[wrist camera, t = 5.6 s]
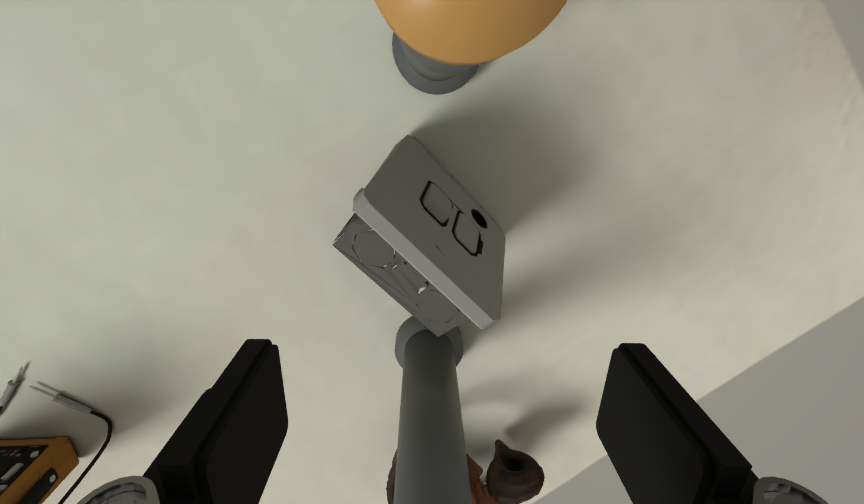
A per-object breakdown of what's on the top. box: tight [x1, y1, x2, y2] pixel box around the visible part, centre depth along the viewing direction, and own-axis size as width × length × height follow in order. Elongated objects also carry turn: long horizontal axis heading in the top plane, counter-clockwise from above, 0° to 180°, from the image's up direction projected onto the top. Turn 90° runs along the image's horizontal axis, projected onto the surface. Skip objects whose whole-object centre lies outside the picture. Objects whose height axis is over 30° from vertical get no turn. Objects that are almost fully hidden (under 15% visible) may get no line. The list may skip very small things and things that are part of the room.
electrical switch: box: [333, 135, 505, 337], centre depth 23 cm, size 9×5×9 cm, turn 44°
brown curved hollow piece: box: [386, 440, 544, 504], centre depth 32 cm, size 12×10×8 cm
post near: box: [374, 0, 567, 94], centre depth 15 cm, size 5×5×18 cm
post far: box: [393, 316, 472, 504], centre depth 22 cm, size 5×5×18 cm
